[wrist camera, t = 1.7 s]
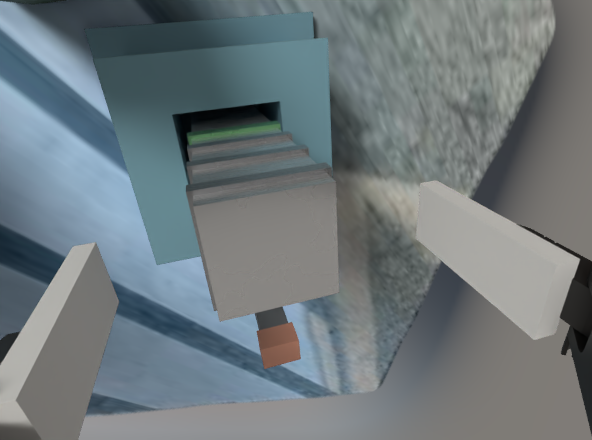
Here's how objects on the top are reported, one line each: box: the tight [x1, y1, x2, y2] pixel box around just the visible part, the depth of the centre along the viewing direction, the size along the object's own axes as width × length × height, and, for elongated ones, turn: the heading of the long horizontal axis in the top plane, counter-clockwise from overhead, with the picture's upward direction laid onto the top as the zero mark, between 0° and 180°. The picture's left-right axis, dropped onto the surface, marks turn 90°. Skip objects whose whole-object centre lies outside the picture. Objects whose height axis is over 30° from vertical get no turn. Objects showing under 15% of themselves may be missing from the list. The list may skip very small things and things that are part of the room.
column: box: [186, 105, 339, 321], centre depth 23 cm, size 5×5×22 cm
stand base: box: [84, 12, 333, 369], centre depth 24 cm, size 18×18×21 cm
